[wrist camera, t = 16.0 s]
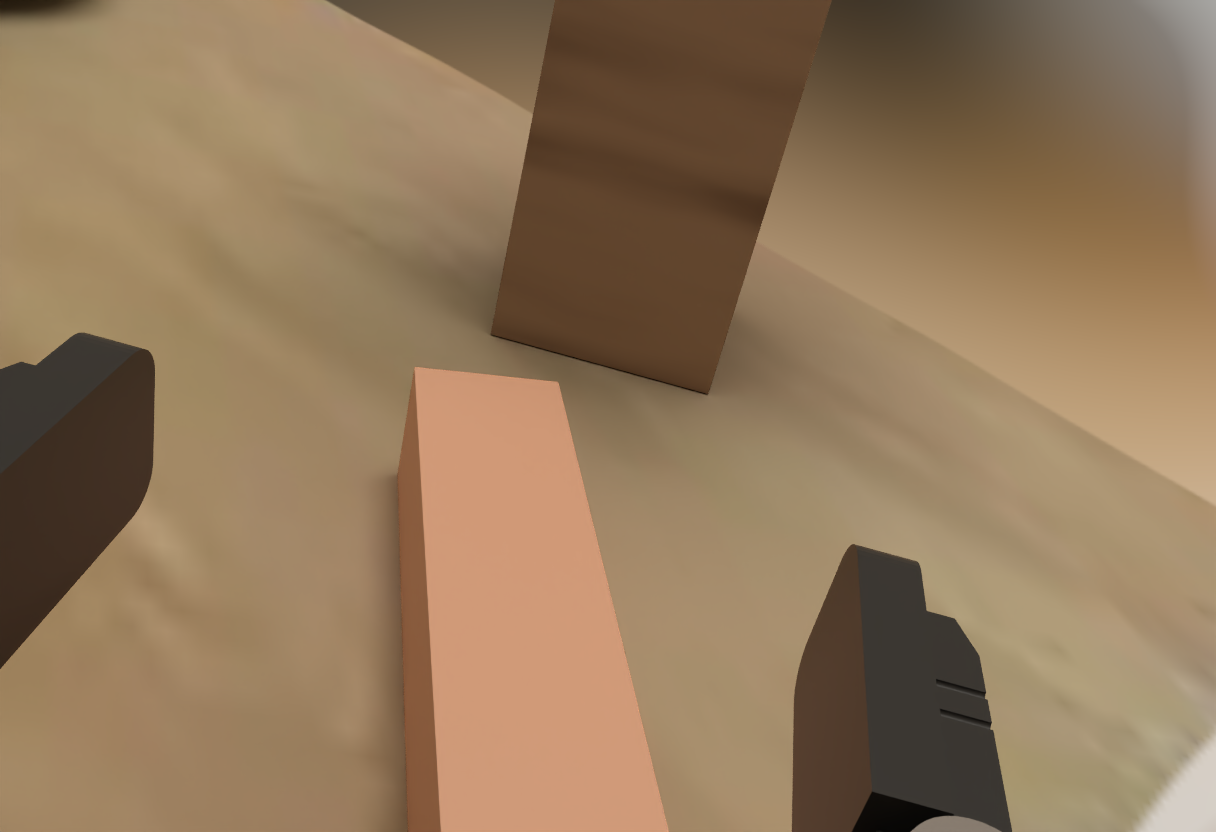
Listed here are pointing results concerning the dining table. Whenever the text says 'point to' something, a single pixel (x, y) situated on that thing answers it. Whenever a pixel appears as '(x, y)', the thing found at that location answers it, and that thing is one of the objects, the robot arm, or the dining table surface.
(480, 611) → the terracotta bar
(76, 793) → the dining table surface
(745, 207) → the walnut stand
